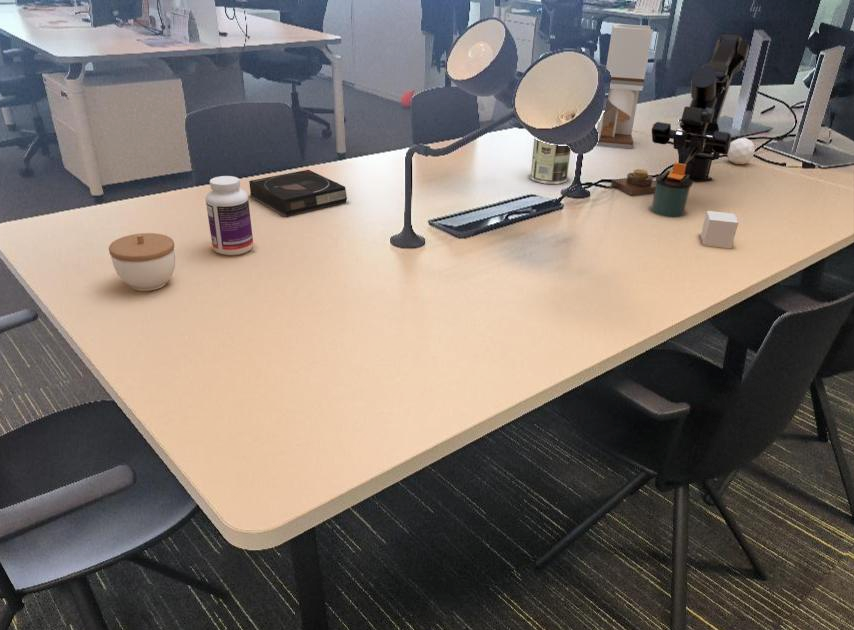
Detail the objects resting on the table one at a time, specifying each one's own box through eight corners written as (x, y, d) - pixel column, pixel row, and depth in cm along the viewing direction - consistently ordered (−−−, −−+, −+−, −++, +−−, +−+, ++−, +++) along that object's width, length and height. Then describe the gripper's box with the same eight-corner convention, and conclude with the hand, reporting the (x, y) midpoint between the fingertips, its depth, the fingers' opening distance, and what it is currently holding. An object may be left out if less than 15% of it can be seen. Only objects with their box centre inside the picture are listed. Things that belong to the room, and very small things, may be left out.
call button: (640, 175, 189) (642, 168, 189) (649, 179, 187) (650, 172, 186) (630, 176, 188) (631, 169, 187) (638, 180, 185) (639, 173, 184)
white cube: (700, 235, 161) (706, 210, 158) (727, 238, 160) (734, 213, 157) (703, 245, 156) (709, 219, 153) (731, 248, 155) (738, 222, 152)
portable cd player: (287, 217, 159) (285, 200, 157) (250, 196, 170) (249, 180, 168) (347, 203, 169) (346, 187, 167) (309, 185, 180) (308, 169, 177)
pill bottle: (261, 245, 145) (254, 177, 137) (239, 260, 138) (231, 189, 131) (227, 239, 147) (219, 171, 139) (204, 253, 140) (194, 182, 133)
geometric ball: (728, 170, 218) (723, 145, 218) (756, 163, 216) (750, 138, 216) (731, 164, 210) (725, 138, 211) (759, 156, 208) (753, 130, 209)
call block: (643, 181, 194) (645, 169, 193) (664, 191, 188) (667, 179, 186) (610, 185, 190) (613, 172, 188) (631, 196, 183) (633, 182, 182)
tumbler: (654, 203, 179) (661, 168, 175) (688, 209, 176) (696, 174, 171) (645, 212, 173) (653, 177, 168) (681, 219, 169) (689, 183, 165)
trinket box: (143, 302, 121) (133, 252, 116) (104, 286, 126) (93, 237, 121) (192, 281, 129) (185, 233, 124) (154, 266, 134) (145, 220, 129)
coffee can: (564, 173, 198) (571, 123, 190) (569, 185, 189) (576, 132, 182) (528, 172, 198) (533, 121, 190) (531, 183, 189) (536, 130, 182)
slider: (671, 173, 174) (673, 162, 172) (685, 175, 172) (687, 164, 171) (666, 177, 170) (669, 166, 169) (680, 180, 169) (683, 169, 167)
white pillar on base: (596, 145, 226) (614, 27, 208) (595, 137, 235) (612, 23, 217) (632, 148, 225) (653, 29, 207) (630, 140, 234) (650, 25, 216)
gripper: (661, 87, 172) (640, 142, 169) (740, 98, 164) (720, 155, 161) (662, 115, 182) (643, 167, 179) (737, 126, 174) (718, 180, 172)
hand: (680, 167), depth 172 cm, fingers closed
